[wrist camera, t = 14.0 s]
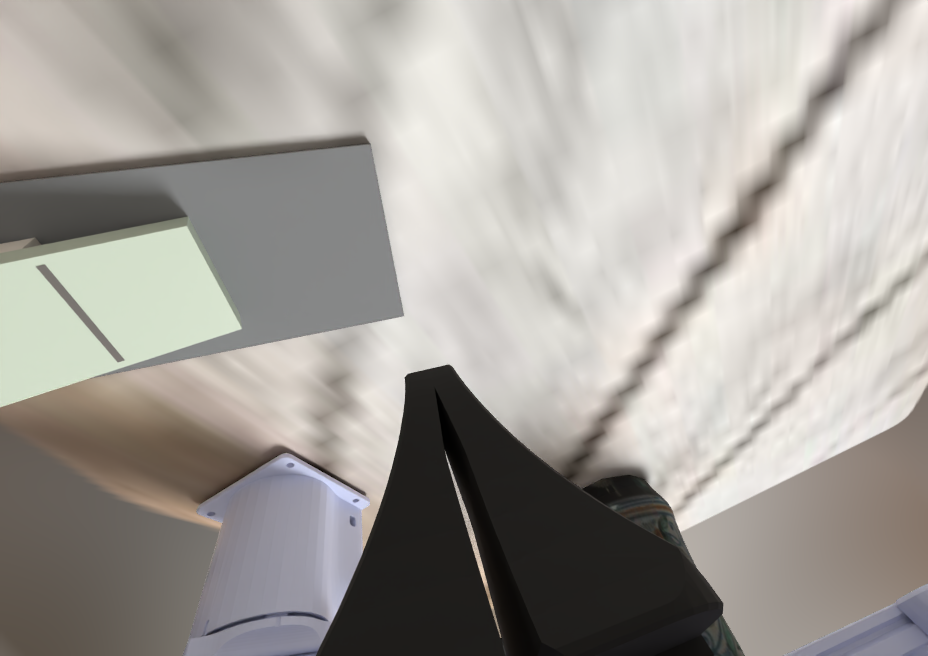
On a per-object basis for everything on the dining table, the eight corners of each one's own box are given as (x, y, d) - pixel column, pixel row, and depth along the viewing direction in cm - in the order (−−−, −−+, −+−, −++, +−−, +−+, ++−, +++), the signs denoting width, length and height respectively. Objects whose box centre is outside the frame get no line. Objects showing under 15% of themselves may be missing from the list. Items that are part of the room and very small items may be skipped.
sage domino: (186, 226, 14) (-175, 300, 10) (242, 329, 17) (-23, 415, 13) (187, 216, 15) (-136, 279, 11) (239, 314, 18) (-5, 389, 14)
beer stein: (663, 456, 41) (963, 805, 21) (635, 531, 52) (812, 803, 32) (532, 502, 38) (730, 946, 18) (533, 570, 50) (656, 889, 30)
